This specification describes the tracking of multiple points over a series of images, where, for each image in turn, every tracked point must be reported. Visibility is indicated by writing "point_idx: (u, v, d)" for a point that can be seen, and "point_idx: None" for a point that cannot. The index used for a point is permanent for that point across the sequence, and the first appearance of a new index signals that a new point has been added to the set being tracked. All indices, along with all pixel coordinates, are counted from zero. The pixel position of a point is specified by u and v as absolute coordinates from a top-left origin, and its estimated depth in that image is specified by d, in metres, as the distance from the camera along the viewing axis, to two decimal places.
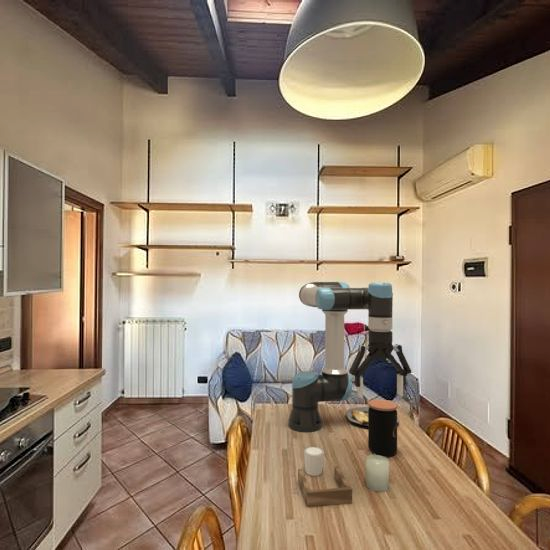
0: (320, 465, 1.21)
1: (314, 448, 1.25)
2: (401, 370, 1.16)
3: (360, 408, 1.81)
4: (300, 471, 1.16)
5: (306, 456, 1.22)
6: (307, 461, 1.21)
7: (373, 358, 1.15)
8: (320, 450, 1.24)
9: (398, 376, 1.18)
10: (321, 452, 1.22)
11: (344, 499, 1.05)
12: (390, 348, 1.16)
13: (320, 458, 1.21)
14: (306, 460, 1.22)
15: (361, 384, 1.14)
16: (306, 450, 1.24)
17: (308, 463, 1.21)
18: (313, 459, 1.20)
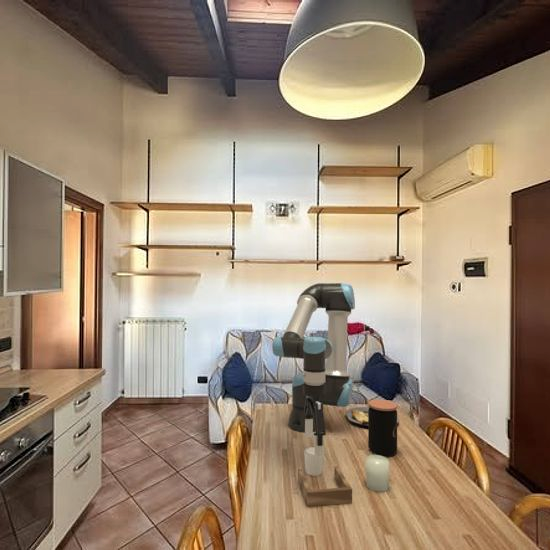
0: (320, 465, 1.21)
1: (314, 448, 1.25)
2: (315, 428, 1.17)
3: (360, 408, 1.81)
4: (300, 471, 1.16)
5: (306, 456, 1.22)
6: (307, 461, 1.21)
7: (306, 405, 1.26)
8: None
9: None
10: None
11: (344, 499, 1.05)
12: (313, 402, 1.21)
13: (320, 458, 1.21)
14: (306, 460, 1.22)
15: (305, 425, 1.30)
16: (306, 450, 1.24)
17: (308, 463, 1.21)
18: (313, 459, 1.20)
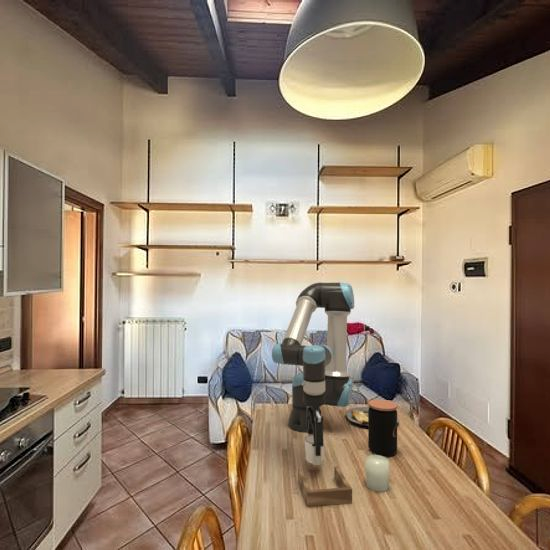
0: None
1: None
2: None
3: (360, 408, 1.81)
4: (300, 471, 1.16)
5: (306, 444, 1.22)
6: (307, 449, 1.22)
7: (307, 416, 1.26)
8: None
9: None
10: None
11: (344, 499, 1.05)
12: (313, 412, 1.21)
13: None
14: (306, 448, 1.22)
15: None
16: (306, 438, 1.24)
17: (308, 451, 1.22)
18: None
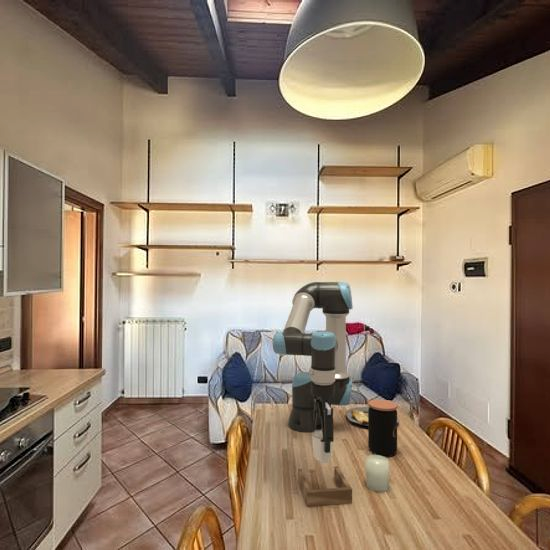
0: None
1: None
2: (322, 434, 1.09)
3: (360, 408, 1.81)
4: (300, 471, 1.16)
5: (314, 440, 1.11)
6: (315, 445, 1.11)
7: (315, 409, 1.15)
8: None
9: None
10: None
11: (344, 499, 1.05)
12: (322, 403, 1.10)
13: None
14: (314, 444, 1.11)
15: None
16: (314, 433, 1.13)
17: (316, 447, 1.10)
18: None
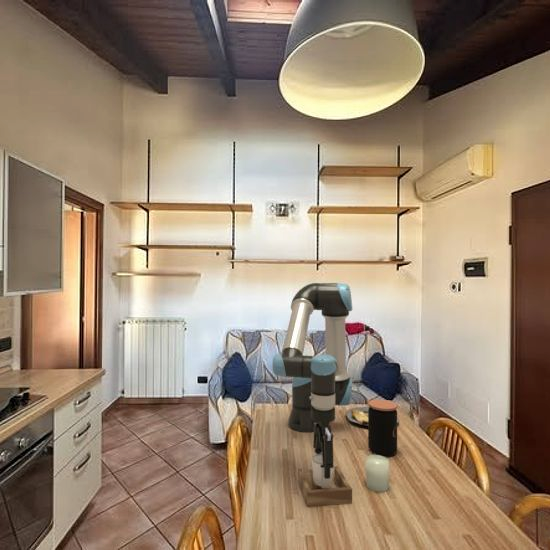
0: None
1: None
2: (322, 459, 1.08)
3: (360, 408, 1.81)
4: (300, 471, 1.16)
5: (314, 465, 1.11)
6: (315, 470, 1.10)
7: (315, 433, 1.15)
8: None
9: None
10: None
11: (344, 499, 1.05)
12: (322, 429, 1.10)
13: None
14: (314, 469, 1.11)
15: None
16: (314, 458, 1.13)
17: (316, 472, 1.10)
18: None
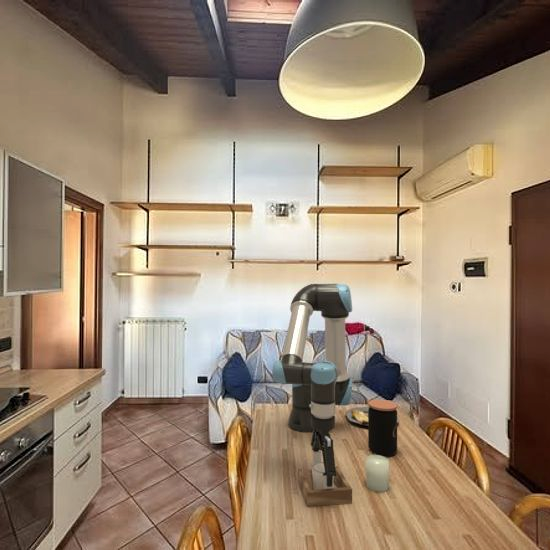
0: None
1: (323, 464, 1.14)
2: (324, 467, 1.06)
3: (360, 408, 1.81)
4: (300, 471, 1.16)
5: (314, 473, 1.11)
6: (315, 479, 1.10)
7: (314, 438, 1.16)
8: None
9: None
10: None
11: (344, 499, 1.05)
12: (321, 437, 1.10)
13: None
14: (314, 478, 1.11)
15: (313, 458, 1.19)
16: (314, 466, 1.13)
17: (316, 481, 1.10)
18: (322, 477, 1.09)
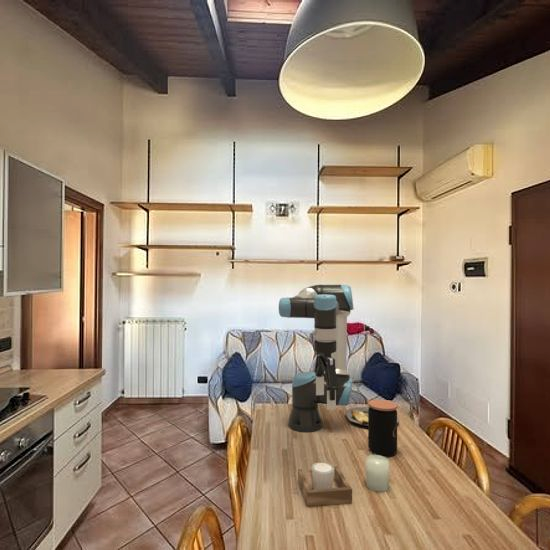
0: (330, 483, 1.10)
1: (323, 464, 1.14)
2: (327, 384, 1.17)
3: (360, 408, 1.81)
4: (300, 471, 1.16)
5: (314, 473, 1.11)
6: (315, 479, 1.10)
7: (318, 363, 1.26)
8: (329, 466, 1.13)
9: None
10: (331, 469, 1.11)
11: (344, 499, 1.05)
12: (324, 359, 1.20)
13: (330, 476, 1.10)
14: (314, 478, 1.11)
15: (316, 383, 1.30)
16: (314, 466, 1.13)
17: (316, 481, 1.10)
18: (322, 477, 1.09)
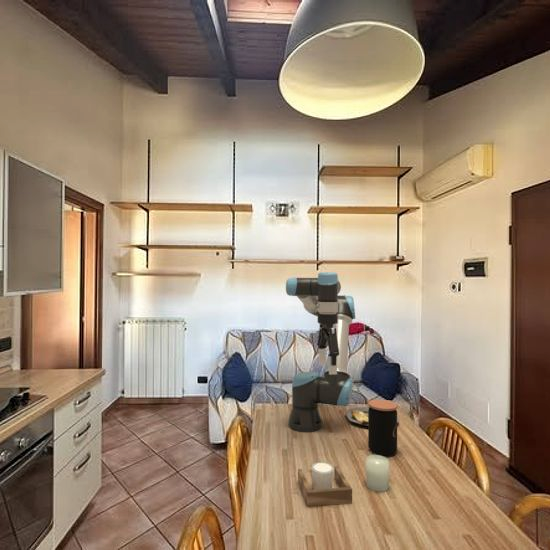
0: (330, 483, 1.10)
1: (323, 464, 1.14)
2: (329, 350, 1.29)
3: (360, 408, 1.81)
4: (300, 471, 1.16)
5: (314, 473, 1.11)
6: (315, 479, 1.10)
7: (320, 335, 1.39)
8: (329, 466, 1.13)
9: None
10: (331, 469, 1.11)
11: (344, 499, 1.05)
12: (327, 329, 1.33)
13: (330, 476, 1.10)
14: (314, 478, 1.11)
15: (319, 354, 1.43)
16: (314, 466, 1.13)
17: (316, 481, 1.10)
18: (322, 477, 1.09)
